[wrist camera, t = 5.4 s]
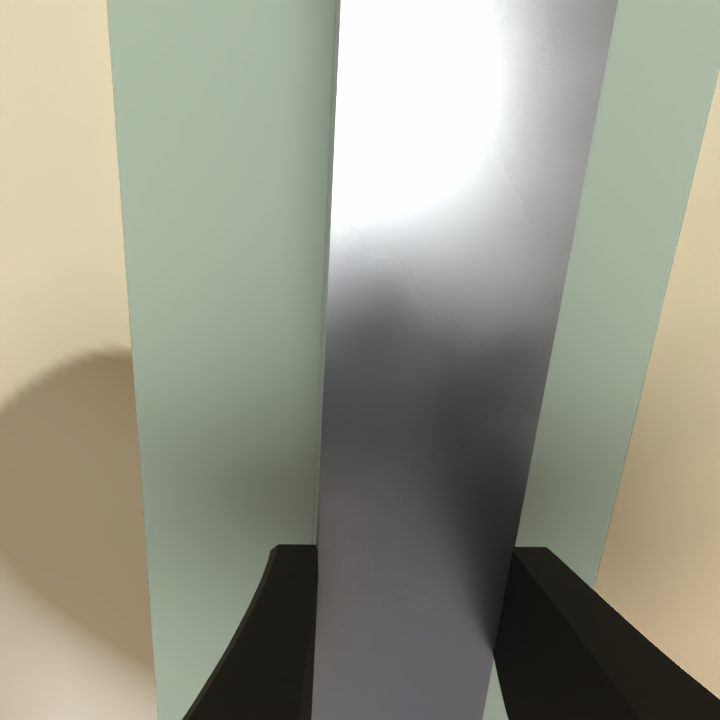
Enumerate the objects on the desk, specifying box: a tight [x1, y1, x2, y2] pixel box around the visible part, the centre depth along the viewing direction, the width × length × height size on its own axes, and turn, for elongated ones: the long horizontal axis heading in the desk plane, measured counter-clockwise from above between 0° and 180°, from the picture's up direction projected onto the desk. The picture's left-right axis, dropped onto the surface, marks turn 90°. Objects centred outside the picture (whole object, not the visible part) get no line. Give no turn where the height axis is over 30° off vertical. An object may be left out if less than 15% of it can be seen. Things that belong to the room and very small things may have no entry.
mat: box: [107, 0, 720, 720], centre depth 13 cm, size 22×10×1 cm, turn 176°
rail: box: [311, 0, 618, 720], centre depth 11 cm, size 19×3×3 cm, turn 176°
